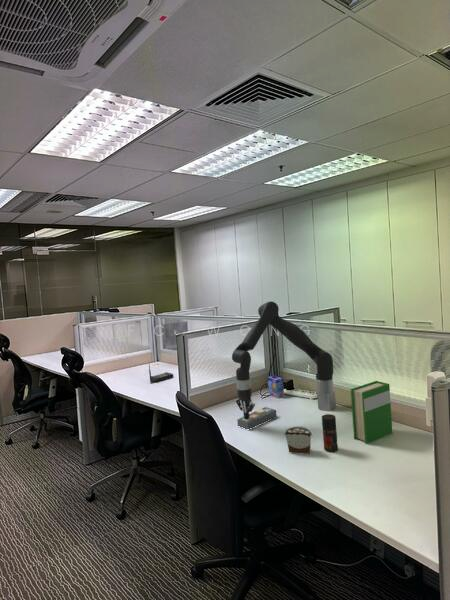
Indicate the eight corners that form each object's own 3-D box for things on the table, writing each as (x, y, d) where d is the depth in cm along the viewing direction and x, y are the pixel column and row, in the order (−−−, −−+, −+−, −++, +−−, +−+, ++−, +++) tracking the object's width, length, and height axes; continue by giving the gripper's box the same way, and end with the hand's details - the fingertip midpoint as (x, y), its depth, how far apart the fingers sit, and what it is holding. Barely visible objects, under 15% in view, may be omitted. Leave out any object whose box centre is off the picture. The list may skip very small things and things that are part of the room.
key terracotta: (259, 420, 210) (258, 415, 209) (254, 423, 207) (253, 417, 207) (254, 419, 213) (253, 414, 212) (248, 421, 210) (248, 416, 210)
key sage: (252, 424, 206) (252, 418, 206) (247, 426, 204) (246, 421, 203) (247, 422, 209) (246, 416, 209) (242, 424, 207) (241, 419, 206)
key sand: (265, 415, 213) (265, 410, 213) (260, 417, 210) (260, 412, 210) (260, 413, 216) (259, 408, 216) (255, 416, 213) (254, 410, 213)
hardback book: (366, 444, 175) (363, 392, 173) (354, 438, 181) (350, 389, 179) (392, 433, 183) (389, 383, 181) (379, 428, 190) (376, 380, 188)
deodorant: (322, 446, 176) (320, 414, 175) (335, 445, 176) (333, 413, 175) (325, 452, 170) (323, 419, 169) (339, 451, 170) (336, 418, 169)
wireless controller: (165, 376, 327) (163, 356, 326) (174, 378, 317) (172, 358, 315) (144, 382, 314) (142, 361, 313) (153, 385, 304) (151, 363, 302)
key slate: (272, 415, 216) (271, 409, 216) (267, 417, 214) (266, 412, 214) (266, 413, 219) (266, 408, 219) (262, 415, 217) (261, 410, 217)
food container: (315, 448, 176) (313, 426, 175) (313, 454, 170) (312, 432, 169) (288, 446, 180) (286, 425, 179) (285, 452, 174) (284, 431, 173)
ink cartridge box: (268, 395, 254) (266, 373, 253) (275, 393, 257) (273, 371, 256) (277, 398, 245) (275, 376, 244) (284, 396, 248) (282, 374, 247)
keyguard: (276, 416, 216) (276, 409, 216) (248, 430, 201) (247, 423, 201) (266, 413, 222) (265, 406, 222) (237, 426, 207) (237, 419, 207)
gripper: (257, 387, 202) (260, 419, 204) (240, 383, 212) (243, 414, 214) (247, 391, 197) (250, 424, 199) (230, 387, 207) (233, 418, 209)
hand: (246, 418), depth 206 cm, fingers closed
